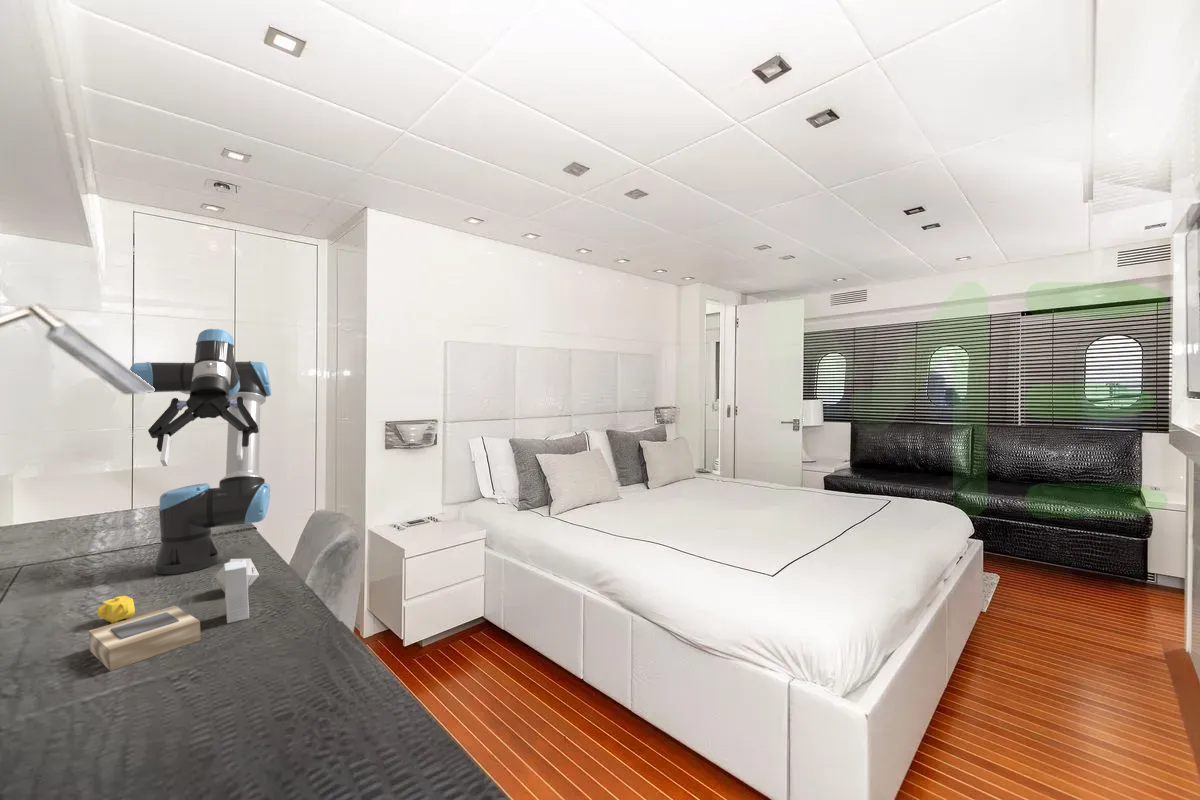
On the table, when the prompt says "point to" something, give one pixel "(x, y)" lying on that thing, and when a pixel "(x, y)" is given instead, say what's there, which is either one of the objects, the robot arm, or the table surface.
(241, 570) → the skincare box
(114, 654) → the plinth
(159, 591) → the table surface
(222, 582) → the die
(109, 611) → the teapot
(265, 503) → the robot arm
